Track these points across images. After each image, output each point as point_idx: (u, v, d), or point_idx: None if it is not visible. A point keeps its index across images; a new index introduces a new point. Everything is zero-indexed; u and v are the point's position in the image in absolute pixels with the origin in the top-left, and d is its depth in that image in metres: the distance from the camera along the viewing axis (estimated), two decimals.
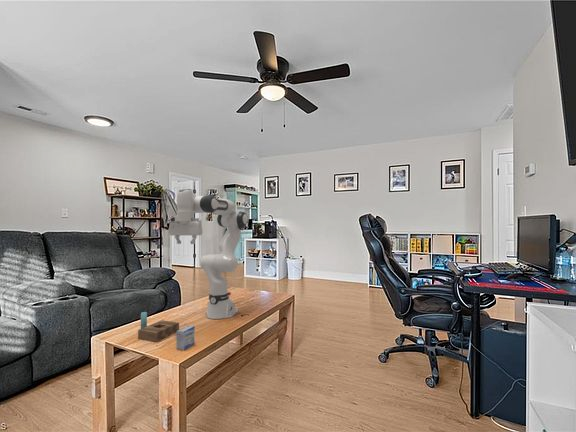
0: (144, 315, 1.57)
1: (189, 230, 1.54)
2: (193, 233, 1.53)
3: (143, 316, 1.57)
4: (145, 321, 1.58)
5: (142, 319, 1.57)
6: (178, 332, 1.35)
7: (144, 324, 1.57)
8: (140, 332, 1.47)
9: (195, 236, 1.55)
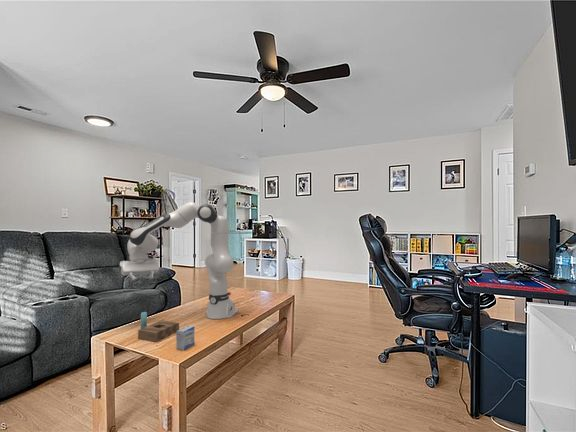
0: (144, 315, 1.57)
1: None
2: None
3: (143, 316, 1.57)
4: (145, 321, 1.58)
5: (142, 319, 1.57)
6: (178, 332, 1.35)
7: (144, 324, 1.57)
8: (140, 332, 1.47)
9: (129, 274, 1.64)
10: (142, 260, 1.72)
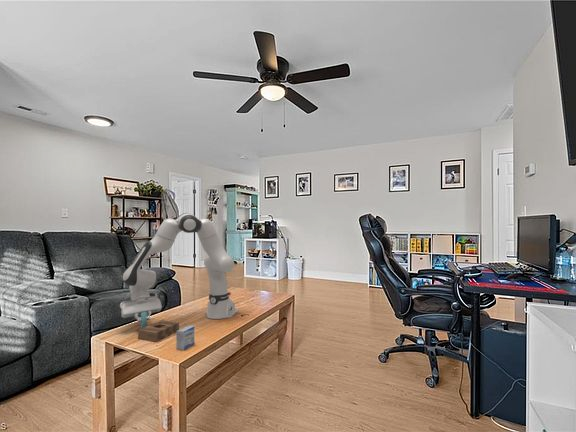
0: (144, 315, 1.57)
1: None
2: None
3: (143, 316, 1.57)
4: (145, 321, 1.58)
5: (142, 319, 1.57)
6: (178, 332, 1.35)
7: (144, 324, 1.57)
8: (140, 332, 1.47)
9: (134, 315, 1.57)
10: (143, 299, 1.63)
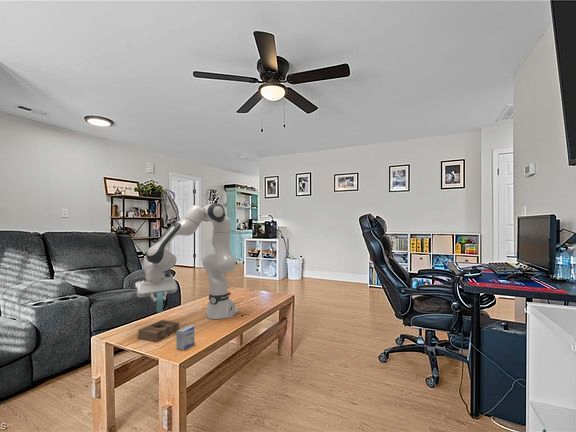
0: (160, 295, 1.52)
1: None
2: None
3: (160, 296, 1.52)
4: (161, 301, 1.53)
5: (158, 299, 1.52)
6: (178, 332, 1.35)
7: (160, 304, 1.52)
8: (140, 332, 1.47)
9: (150, 295, 1.53)
10: (159, 279, 1.58)
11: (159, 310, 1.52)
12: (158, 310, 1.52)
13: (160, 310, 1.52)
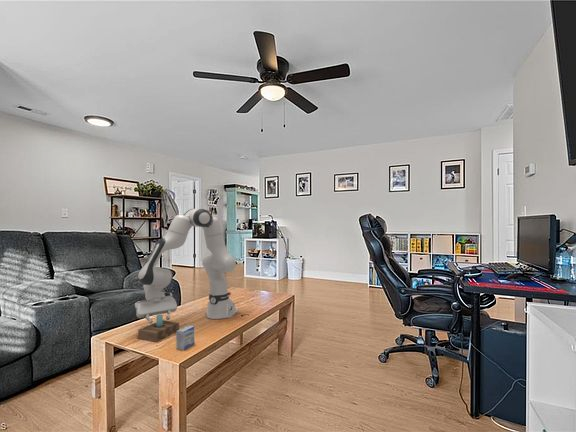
0: (160, 318, 1.52)
1: None
2: None
3: (159, 319, 1.52)
4: (161, 324, 1.52)
5: (158, 322, 1.52)
6: (178, 332, 1.35)
7: (160, 327, 1.52)
8: (140, 332, 1.47)
9: (146, 316, 1.51)
10: (158, 299, 1.58)
11: None
12: None
13: None
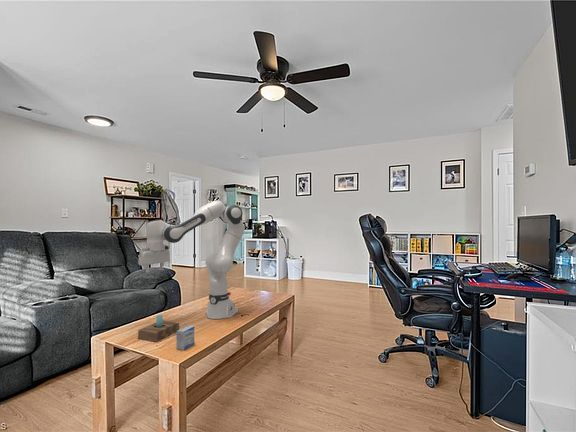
0: (160, 318, 1.52)
1: None
2: None
3: (159, 319, 1.52)
4: (161, 324, 1.52)
5: (158, 322, 1.52)
6: (178, 332, 1.35)
7: (160, 327, 1.52)
8: (140, 332, 1.47)
9: (145, 265, 1.62)
10: (159, 251, 1.68)
11: None
12: None
13: None
